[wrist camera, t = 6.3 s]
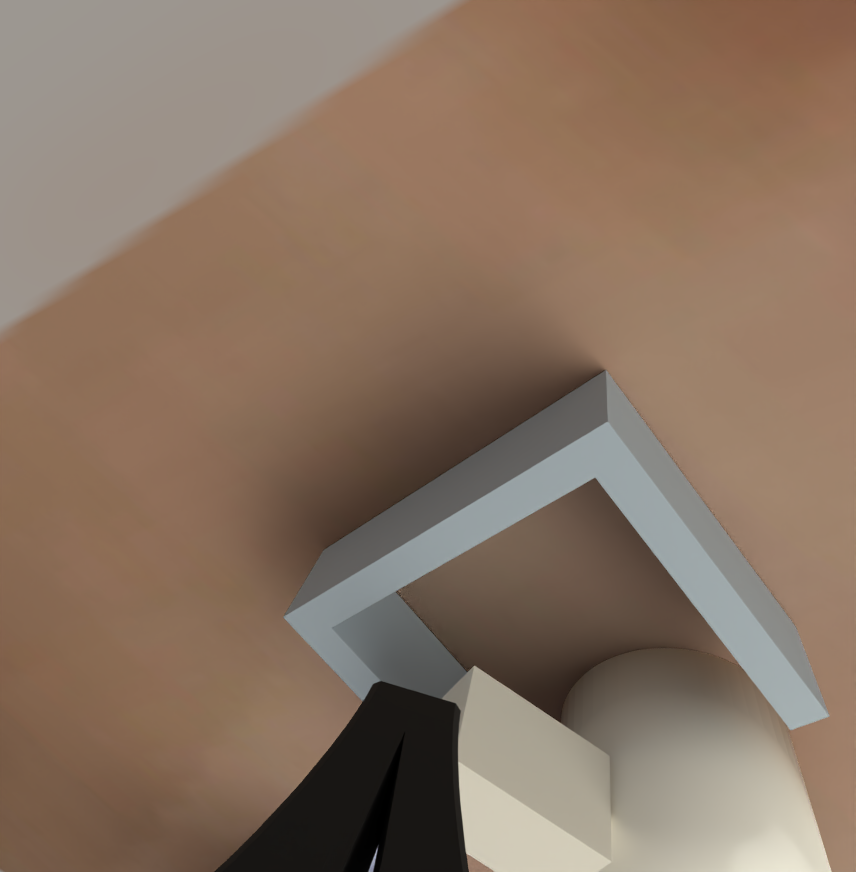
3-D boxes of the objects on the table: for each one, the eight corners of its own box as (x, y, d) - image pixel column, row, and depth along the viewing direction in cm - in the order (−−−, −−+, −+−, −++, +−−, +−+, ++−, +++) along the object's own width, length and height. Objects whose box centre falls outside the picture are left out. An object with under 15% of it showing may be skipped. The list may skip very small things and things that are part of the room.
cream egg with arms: (988, 837, 23) (1136, 1117, 16) (814, 927, 26) (883, 1189, 20) (538, 527, 21) (514, 702, 15) (413, 662, 25) (352, 853, 18)
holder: (503, 748, 25) (490, 836, 22) (323, 550, 23) (283, 617, 20) (795, 627, 21) (829, 716, 18) (606, 369, 19) (607, 421, 16)
